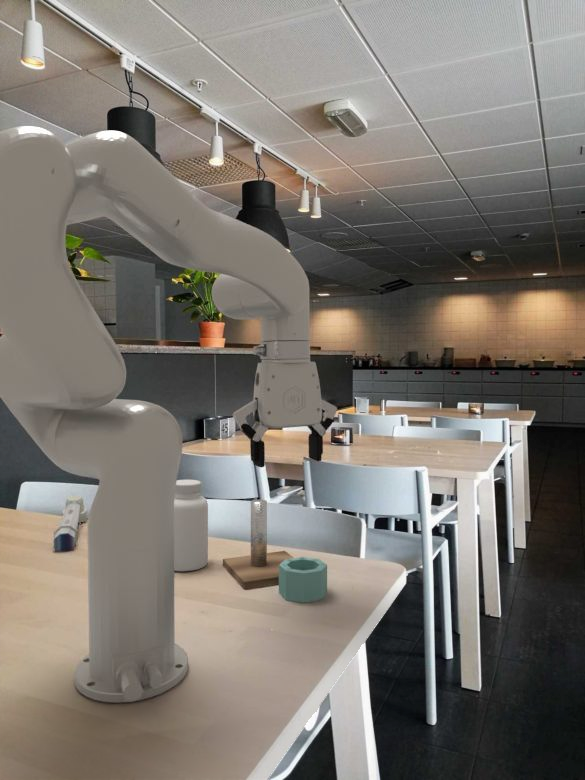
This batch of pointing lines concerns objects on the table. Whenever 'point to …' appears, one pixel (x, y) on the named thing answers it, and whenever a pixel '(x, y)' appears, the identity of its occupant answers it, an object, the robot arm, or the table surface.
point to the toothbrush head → (69, 523)
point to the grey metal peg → (258, 533)
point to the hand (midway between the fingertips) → (287, 462)
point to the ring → (302, 579)
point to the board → (256, 570)
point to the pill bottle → (190, 526)
